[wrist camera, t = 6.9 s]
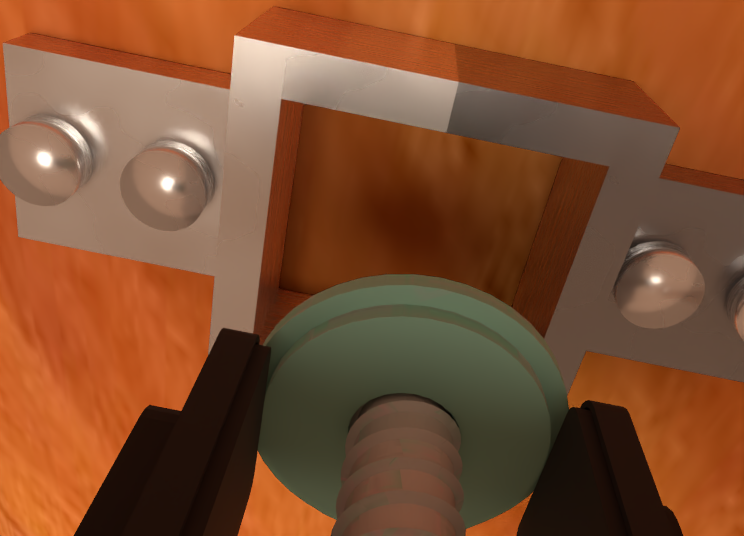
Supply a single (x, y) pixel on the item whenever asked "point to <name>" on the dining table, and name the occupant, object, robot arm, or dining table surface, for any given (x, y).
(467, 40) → the dining table surface
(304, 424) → the screw
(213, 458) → the robot arm
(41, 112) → the riveted metal bracket
